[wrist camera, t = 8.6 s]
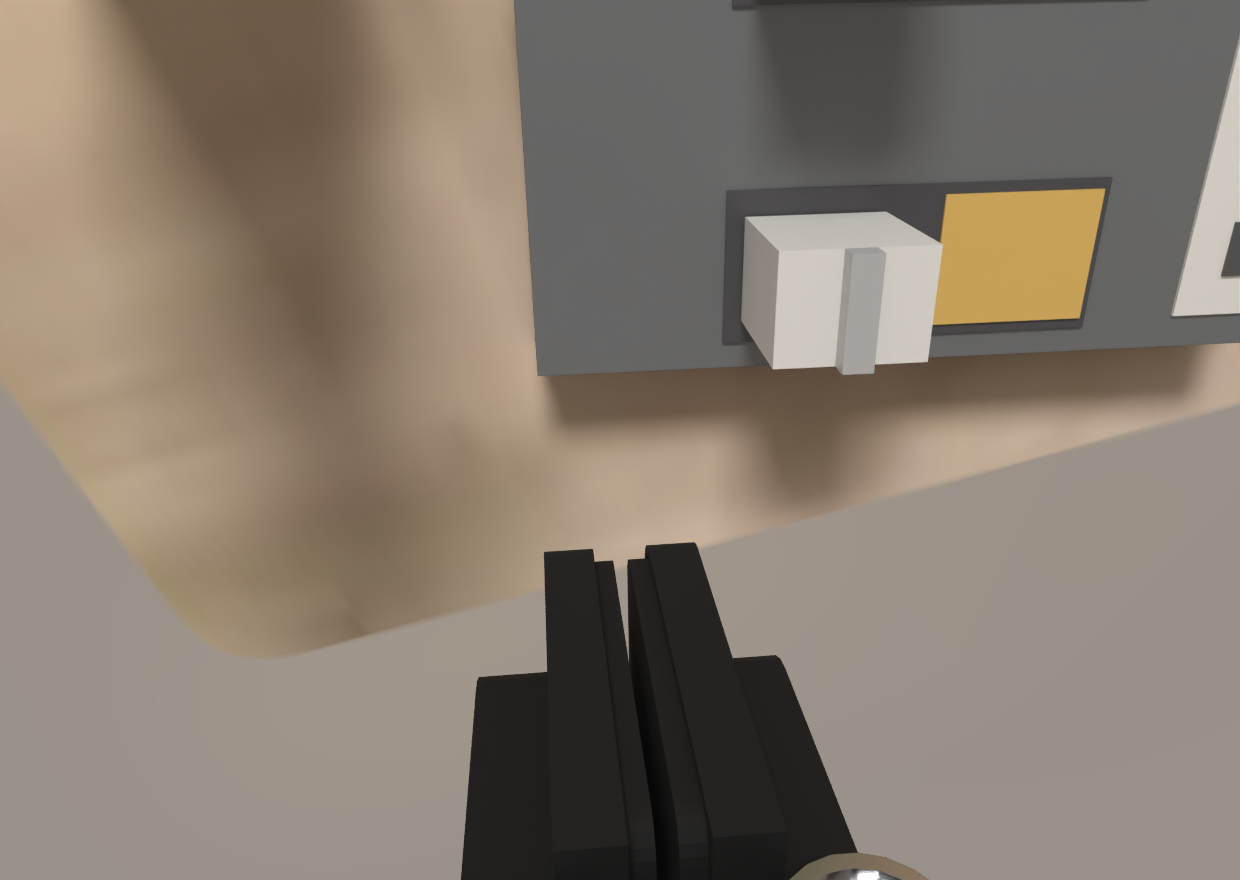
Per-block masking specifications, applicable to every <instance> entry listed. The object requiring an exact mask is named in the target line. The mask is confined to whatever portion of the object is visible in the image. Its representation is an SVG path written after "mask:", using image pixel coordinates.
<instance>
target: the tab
mask: <svg viewBox="0 0 1240 880" xmlns="http://www.w3.org/2000/svg"><path fill="white" fill-rule="evenodd" d="M942 249H943V244H941V243H939V242H938V241H936V240H934V239H932V238H931V237H929V236H927V235H926V234H924V233H922V232H920V231H919V230H917V229H915V228H914V227H912V226H910V225H908V224H907V223H905V222H903V221H902V220H900V219H898V218H896V217H895V216H893V215H891V214H889V213H888V212H862V213H835V214H809V215H782V216H755V217H745V231H744V258H743V284H742V311H741V321H742V323H743V324H744V326H745V327H746V329H747V331H748V332H749V334H750V335H751V337H752V338H753V340H754V341H755V343H756V344H757V346H758V348H759V349H760V351H761V352H762V354H763V355H764V357H765V358H766V360H767V361H768V363H769V365H770V366H771V368H772V369H792V368H813V367H834V366H835V367H836V368H837V369H838V371H839V372H840V373H841V374H842V375H852V374H872V373H874V368H875V364H896V363H917V362H928V356H929V348H930V340H931V333H932V325H933V318H934V310H935V302H936V295H937V287H938V279H939V272H940V264H941V256H942Z"/></svg>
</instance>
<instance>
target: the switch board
mask: <svg viewBox="0 0 1240 880" xmlns="http://www.w3.org/2000/svg"><path fill="white" fill-rule="evenodd" d="M514 10H515V25H516V41H517V57H518V73H519V89H520V104H521V120H522V136H523V152H524V168H525V184H526V199H527V215H528V231H529V247H530V263H531V278H532V294H533V310H534V326H535V342H536V358H537V373H538V376H553V375H574V374H595V373H616V372H637V371H658V370H679V369H700V368H720V367H741V366H762V365H769V363H768V361H767V360H766V358H765V357H764V355H763V354H762V352H761V351H760V349H759V348H758V346H757V344H756V343H755V341H754V340H753V338H752V337H751V335H750V334H749V332H748V331H747V329H746V327H745V326H744V324H743V323H742V321H741V311H742V284H743V258H744V231H745V217H755V216H782V215H809V214H835V213H862V212H888V213H889V214H891V215H893V216H895V217H896V218H898V219H900V220H902V221H903V222H905V223H907V224H908V225H910V226H912V227H914V228H915V229H917V230H919V231H920V232H922V233H924V234H926V235H927V236H929V237H931V238H932V239H934V240H936V241H938V242H939V243H941V244H943V249H942V256H941V264H940V272H939V279H938V287H937V295H936V302H935V310H934V318H933V325H932V333H931V340H930V348H929V356H928V358H929V357H950V356H971V355H992V354H1013V353H1034V352H1055V351H1075V350H1096V349H1117V348H1138V347H1159V346H1180V345H1201V344H1222V343H1240V0H514Z"/></svg>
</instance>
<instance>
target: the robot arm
mask: <svg viewBox="0 0 1240 880" xmlns="http://www.w3.org/2000/svg"><path fill="white" fill-rule="evenodd" d="M544 570H545V605H546V642H547V672H542V673H528V674H516V675H515V674H514V675H502V676H488V677H479V678H478V680H477V687H476V697H475V710H474V722H473V723H474V724H473V735H472V747H471V760H470V772H469V785H468V797H467V810H466V822H465V835H464V848H463V861H462V873H461V880H929V879H927V878H926V877H924V876H923V875H922V874H920V873H919V872H917V871H916V870H915V869H912V868H910V867H908V866H905V865H903V864H901V863H898V862H896V861H894V860H891V859H889V858H887V857H881V856H875V855H869V854H863V853H858V852H857V850H856V847H855V844H854V842H853V839H852V837H851V835H850V832H849V829H848V827H847V824H846V822H845V819H844V817H843V814H842V812H841V809H840V806H839V804H838V801H837V799H836V796H835V794H834V791H833V789H832V786H831V784H830V781H829V778H828V776H827V773H826V771H825V768H824V766H823V763H822V761H821V758H820V755H819V753H818V751H817V748H816V745H815V743H814V740H813V738H812V735H811V733H810V730H809V728H808V725H807V722H806V720H805V717H804V715H803V712H802V710H801V707H800V705H799V703H798V700H797V697H796V695H795V692H794V690H793V687H792V685H791V682H790V679H789V677H788V674H787V672H786V669H785V667H784V665H783V663H782V661H781V659H780V658H779V657H777V656H776V655H773V656H772V655H771V656H758V657H745V658H732V655H731V652H730V648H729V645H728V642H727V639H726V636H725V633H724V629H723V626H722V623H721V620H720V617H719V614H718V611H717V607H716V605H715V601H714V598H713V595H712V592H711V589H710V586H709V582H708V579H707V576H706V573H705V570H704V567H703V564H702V560H701V557H700V554H699V551H698V548H697V545H696V543H694V542H692V543H676V544H661V545H646V548H645V559H630V560H628V565H627V573H628V626H629V627H628V628H629V660H628V654H627V647H626V641H625V634H624V629H623V622H622V615H621V609H620V602H619V597H618V589H617V583H616V577H615V570H614V564H613V561H599V562H594V554H593V549H583V550H568V551H552V552H544Z"/></svg>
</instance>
